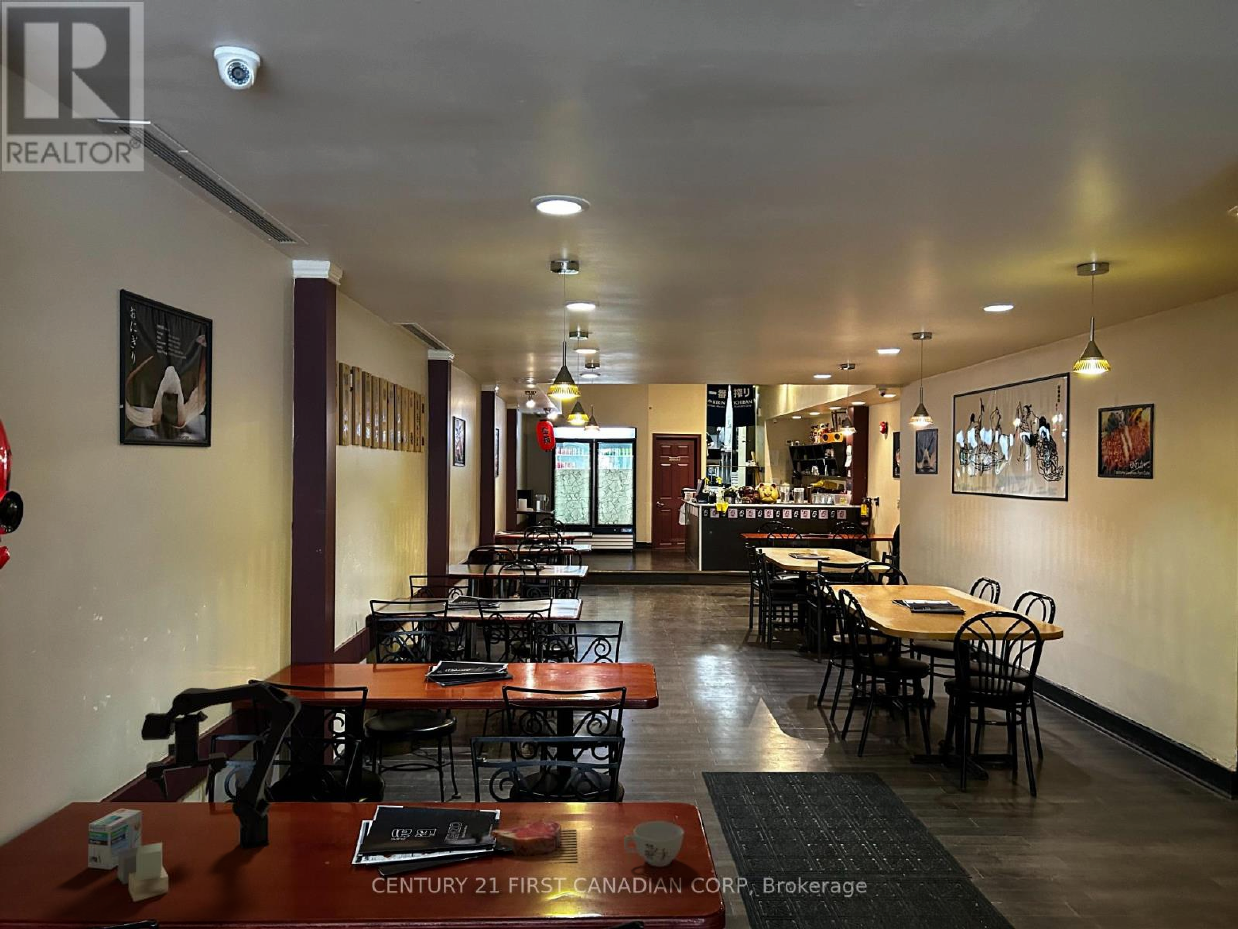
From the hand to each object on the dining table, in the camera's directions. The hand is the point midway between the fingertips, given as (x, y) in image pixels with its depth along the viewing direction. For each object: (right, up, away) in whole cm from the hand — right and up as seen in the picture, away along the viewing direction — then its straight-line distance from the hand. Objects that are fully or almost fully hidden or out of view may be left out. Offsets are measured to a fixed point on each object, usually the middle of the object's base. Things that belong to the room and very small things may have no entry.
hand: (186, 798), depth 223 cm
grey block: (-4, -12, -17) cm, 22 cm away
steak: (+90, -13, 0) cm, 91 cm away
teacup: (+122, -13, -9) cm, 123 cm away
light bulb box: (-14, -13, -8) cm, 20 cm away
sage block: (+3, -9, -24) cm, 25 cm away
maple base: (+3, -13, -24) cm, 27 cm away
